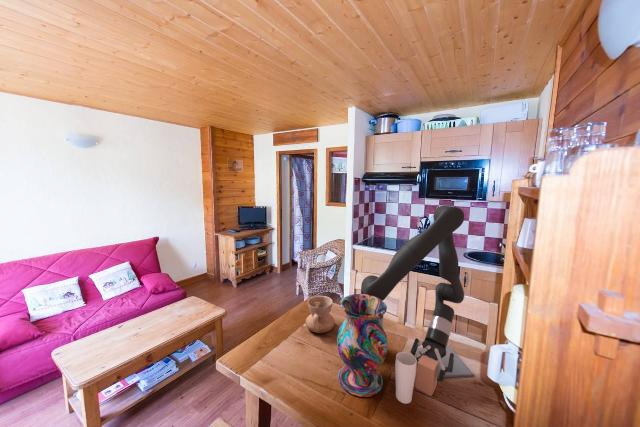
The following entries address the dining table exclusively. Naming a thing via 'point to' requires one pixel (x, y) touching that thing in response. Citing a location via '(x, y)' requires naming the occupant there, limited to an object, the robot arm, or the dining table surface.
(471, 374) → the charcoal mat
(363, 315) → the vase
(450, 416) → the dining table surface
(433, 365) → the brick block
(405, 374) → the drinking glass
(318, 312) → the ceramic jug
